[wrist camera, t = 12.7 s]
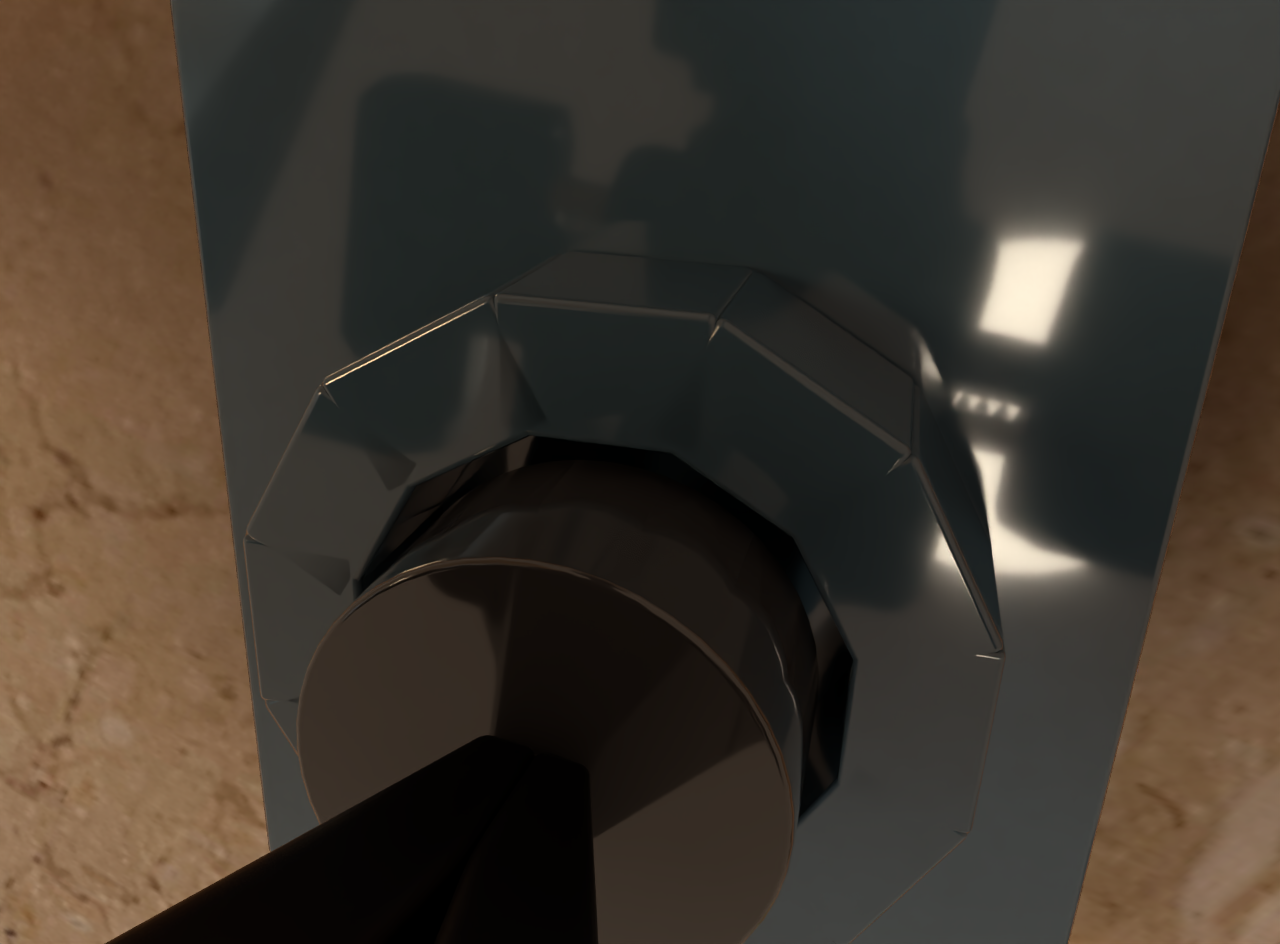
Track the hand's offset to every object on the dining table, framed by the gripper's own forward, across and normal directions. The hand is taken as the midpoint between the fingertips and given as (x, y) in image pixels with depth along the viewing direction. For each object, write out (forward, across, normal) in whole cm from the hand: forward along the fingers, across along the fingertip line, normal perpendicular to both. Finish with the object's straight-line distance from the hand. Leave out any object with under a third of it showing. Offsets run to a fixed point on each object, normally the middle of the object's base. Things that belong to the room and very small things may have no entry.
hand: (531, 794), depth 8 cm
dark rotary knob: (+2, 0, 0) cm, 2 cm away
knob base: (+6, 0, -1) cm, 6 cm away
